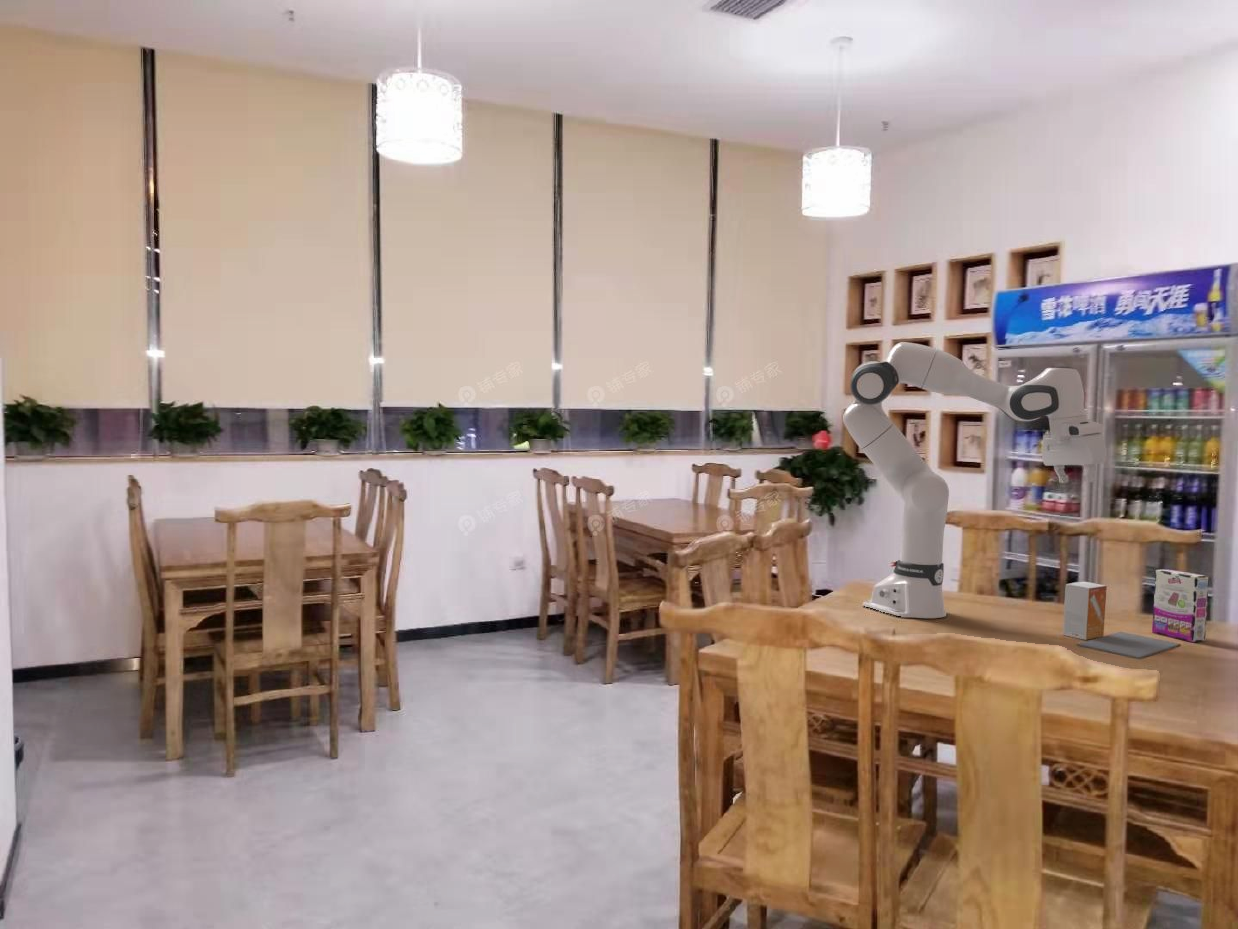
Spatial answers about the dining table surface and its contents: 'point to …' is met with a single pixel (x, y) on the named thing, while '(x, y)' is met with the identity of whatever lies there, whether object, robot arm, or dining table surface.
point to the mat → (1129, 645)
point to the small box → (1084, 610)
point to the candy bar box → (1180, 605)
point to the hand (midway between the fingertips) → (1076, 482)
